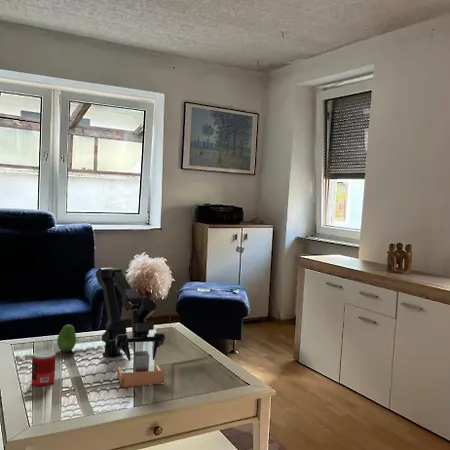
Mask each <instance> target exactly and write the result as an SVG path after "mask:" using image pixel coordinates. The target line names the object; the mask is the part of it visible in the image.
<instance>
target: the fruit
mask: <svg viewBox="0 0 450 450" xmlns="http://www.w3.org/2000/svg"><path fill="white" fill-rule="evenodd" d="M76 336H77V335H76V330H75V327H74V326H73V324H65V325H64V326H62V329H61V330H60V331H59V333H58V336H57V347H58V348H59V350H60V351H62V352H64V353H67V352H71V351H72V350H73V349H74V347H75V346H76V343H77V342H76V341H77V337H76Z"/></svg>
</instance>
